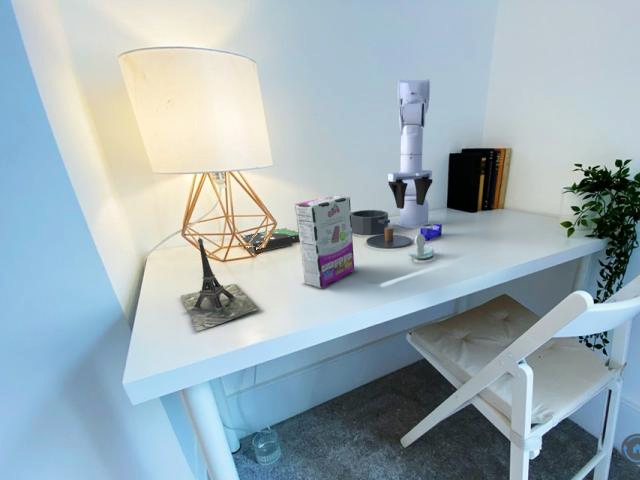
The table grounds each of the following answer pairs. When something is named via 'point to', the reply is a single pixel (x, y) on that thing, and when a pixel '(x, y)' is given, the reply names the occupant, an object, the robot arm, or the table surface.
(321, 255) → the candy bar box
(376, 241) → the lid
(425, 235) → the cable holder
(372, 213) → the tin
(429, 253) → the pacifier
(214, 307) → the eiffel tower figurine
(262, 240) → the disk drive
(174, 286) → the table surface
